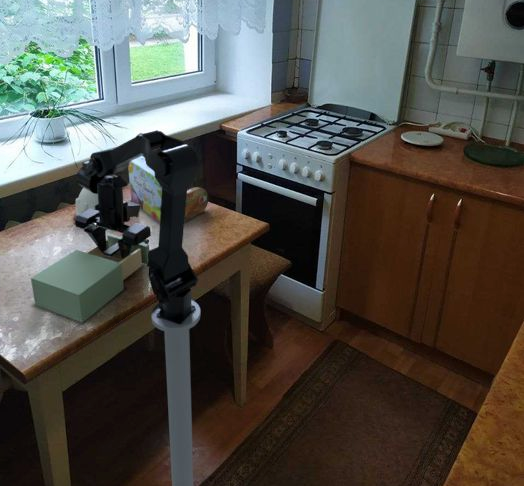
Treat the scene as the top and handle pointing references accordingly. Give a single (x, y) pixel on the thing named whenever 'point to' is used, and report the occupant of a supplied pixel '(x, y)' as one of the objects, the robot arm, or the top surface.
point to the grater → (113, 253)
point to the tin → (195, 202)
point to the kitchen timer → (86, 201)
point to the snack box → (145, 187)
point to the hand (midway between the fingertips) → (114, 256)
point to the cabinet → (77, 285)
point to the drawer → (133, 259)
